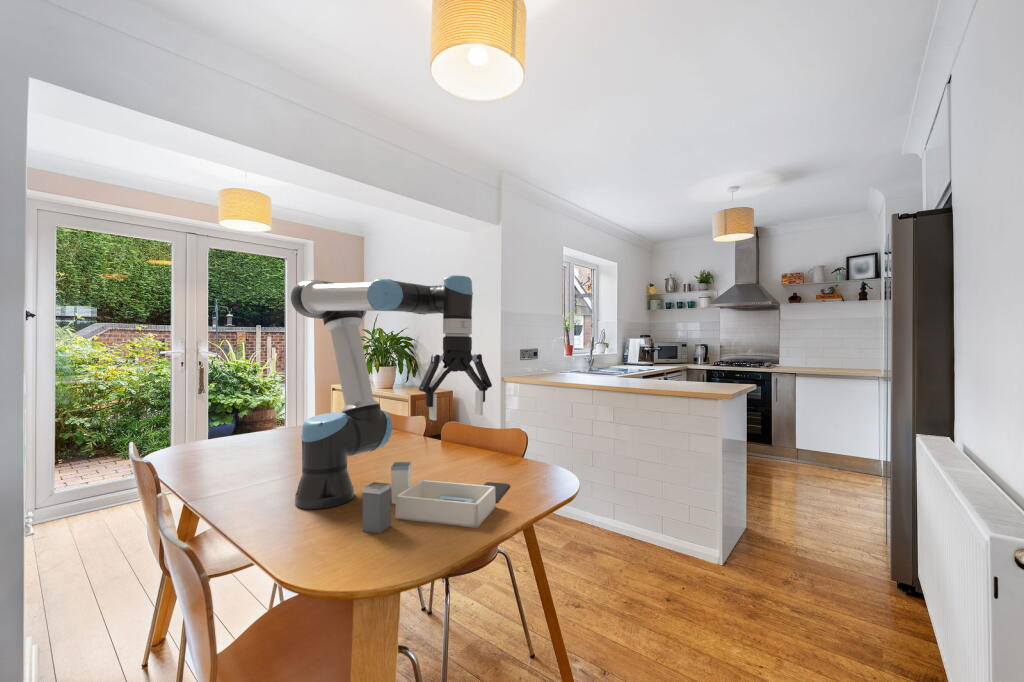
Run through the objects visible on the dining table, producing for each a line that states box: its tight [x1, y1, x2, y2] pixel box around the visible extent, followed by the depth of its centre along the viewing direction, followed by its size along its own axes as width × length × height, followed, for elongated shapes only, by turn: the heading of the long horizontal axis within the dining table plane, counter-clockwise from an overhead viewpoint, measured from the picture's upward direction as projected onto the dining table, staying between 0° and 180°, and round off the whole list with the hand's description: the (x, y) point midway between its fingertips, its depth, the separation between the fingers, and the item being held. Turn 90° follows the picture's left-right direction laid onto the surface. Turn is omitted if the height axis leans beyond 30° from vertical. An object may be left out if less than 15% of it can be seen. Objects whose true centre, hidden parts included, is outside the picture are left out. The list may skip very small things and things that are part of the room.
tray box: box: [395, 479, 497, 529], centre depth 112 cm, size 22×14×6 cm, turn 74°
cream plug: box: [390, 461, 412, 505], centre depth 121 cm, size 5×5×10 cm
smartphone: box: [483, 481, 510, 504], centre depth 127 cm, size 8×1×16 cm
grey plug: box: [361, 481, 392, 534], centre depth 103 cm, size 5×5×10 cm
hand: (456, 417), depth 114 cm, fingers open, 13 cm apart
